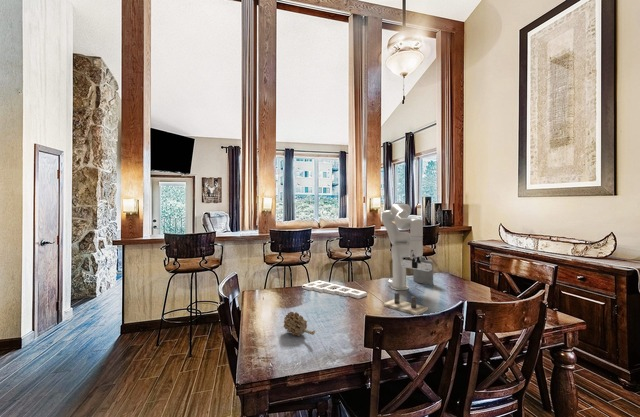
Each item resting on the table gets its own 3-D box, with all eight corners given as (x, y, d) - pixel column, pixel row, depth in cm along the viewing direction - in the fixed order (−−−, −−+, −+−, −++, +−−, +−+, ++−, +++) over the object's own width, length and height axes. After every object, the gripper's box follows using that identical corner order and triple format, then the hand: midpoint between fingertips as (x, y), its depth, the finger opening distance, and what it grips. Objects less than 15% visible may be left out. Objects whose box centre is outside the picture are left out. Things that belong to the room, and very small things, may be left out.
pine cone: (277, 332, 147) (277, 312, 147) (292, 326, 154) (292, 307, 154) (310, 347, 132) (309, 325, 132) (324, 340, 139) (324, 318, 139)
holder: (366, 296, 203) (366, 292, 203) (349, 302, 191) (349, 298, 191) (319, 283, 235) (319, 280, 235) (301, 288, 222) (301, 285, 222)
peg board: (383, 305, 183) (383, 293, 183) (394, 301, 192) (394, 289, 191) (417, 315, 167) (417, 301, 167) (427, 309, 176) (427, 296, 176)
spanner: (400, 266, 198) (400, 260, 198) (403, 265, 201) (403, 259, 201) (429, 271, 184) (430, 265, 183) (433, 270, 187) (433, 264, 187)
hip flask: (433, 284, 229) (433, 257, 228) (431, 285, 226) (431, 258, 226) (414, 280, 241) (414, 255, 240) (412, 281, 238) (412, 255, 237)
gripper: (417, 236, 200) (417, 264, 201) (404, 239, 189) (404, 268, 189) (428, 237, 195) (428, 266, 195) (415, 240, 183) (415, 270, 184)
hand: (416, 267), depth 192 cm, fingers closed on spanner, 4 cm apart
